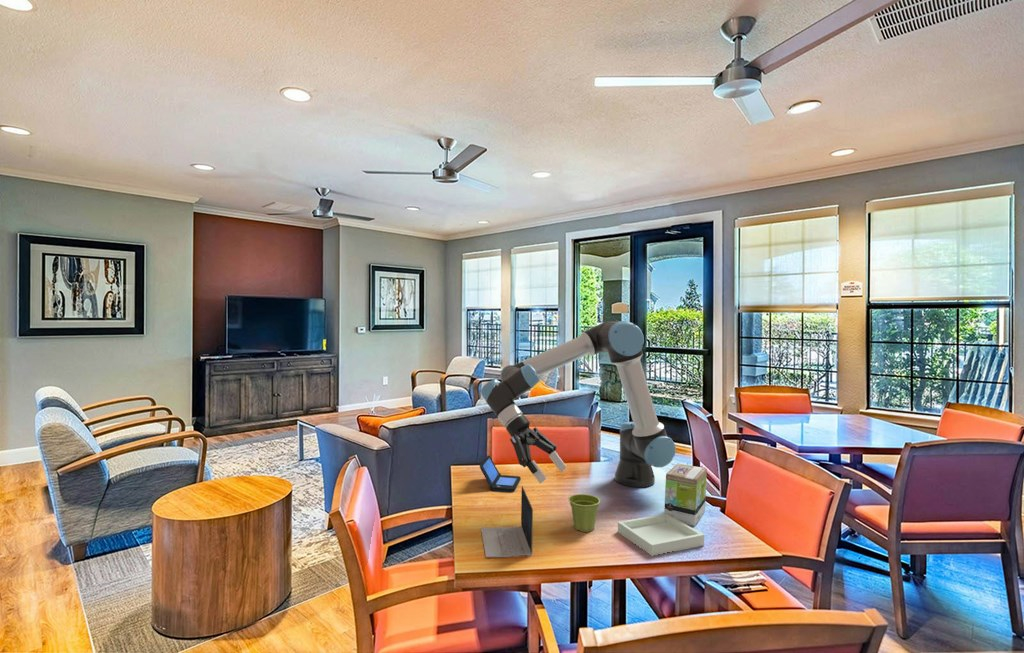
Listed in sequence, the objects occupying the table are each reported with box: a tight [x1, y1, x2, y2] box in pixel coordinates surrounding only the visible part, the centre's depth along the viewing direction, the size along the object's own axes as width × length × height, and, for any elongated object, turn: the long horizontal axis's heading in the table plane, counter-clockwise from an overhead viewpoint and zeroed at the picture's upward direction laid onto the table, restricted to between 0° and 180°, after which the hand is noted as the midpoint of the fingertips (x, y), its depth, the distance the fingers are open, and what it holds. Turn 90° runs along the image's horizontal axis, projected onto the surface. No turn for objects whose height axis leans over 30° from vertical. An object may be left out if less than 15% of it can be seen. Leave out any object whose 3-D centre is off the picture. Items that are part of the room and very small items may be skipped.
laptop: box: [480, 486, 534, 558], centre depth 140 cm, size 18×12×13 cm
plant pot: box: [568, 493, 601, 533], centre depth 151 cm, size 9×9×9 cm
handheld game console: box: [479, 455, 521, 493], centre depth 189 cm, size 16×13×9 cm
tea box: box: [663, 462, 708, 527], centre depth 161 cm, size 15×10×15 cm
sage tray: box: [617, 513, 705, 557], centre depth 144 cm, size 18×16×3 cm
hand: (554, 475), depth 156 cm, fingers open, 13 cm apart
